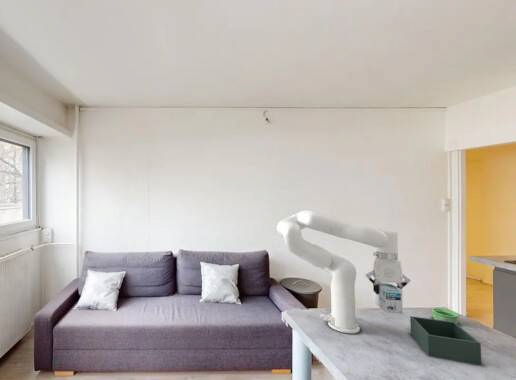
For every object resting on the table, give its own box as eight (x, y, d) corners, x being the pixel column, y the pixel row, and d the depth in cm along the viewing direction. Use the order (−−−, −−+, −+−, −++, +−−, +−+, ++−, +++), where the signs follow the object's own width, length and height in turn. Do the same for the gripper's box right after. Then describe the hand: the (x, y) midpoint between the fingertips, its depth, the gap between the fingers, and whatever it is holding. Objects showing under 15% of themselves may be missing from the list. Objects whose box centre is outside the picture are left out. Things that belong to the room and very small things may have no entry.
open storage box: (428, 355, 100) (427, 335, 100) (410, 333, 115) (410, 316, 115) (481, 365, 94) (480, 343, 94) (455, 340, 109) (454, 322, 109)
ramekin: (441, 325, 122) (440, 315, 122) (427, 316, 131) (427, 307, 131) (464, 326, 120) (464, 317, 120) (449, 317, 129) (448, 308, 129)
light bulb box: (403, 314, 115) (403, 289, 115) (385, 312, 116) (385, 288, 116) (388, 304, 125) (388, 281, 125) (372, 302, 126) (373, 280, 126)
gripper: (366, 256, 121) (366, 294, 121) (414, 260, 114) (415, 300, 114) (362, 252, 128) (362, 289, 127) (407, 256, 121) (408, 294, 120)
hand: (387, 294), depth 121 cm, fingers closed on light bulb box, 7 cm apart
